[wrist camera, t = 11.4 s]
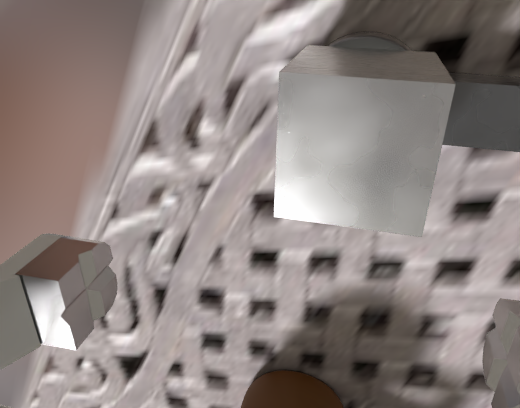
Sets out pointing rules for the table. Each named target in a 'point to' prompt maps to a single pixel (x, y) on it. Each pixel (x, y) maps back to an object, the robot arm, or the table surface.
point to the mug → (289, 392)
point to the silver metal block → (360, 137)
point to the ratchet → (466, 101)
